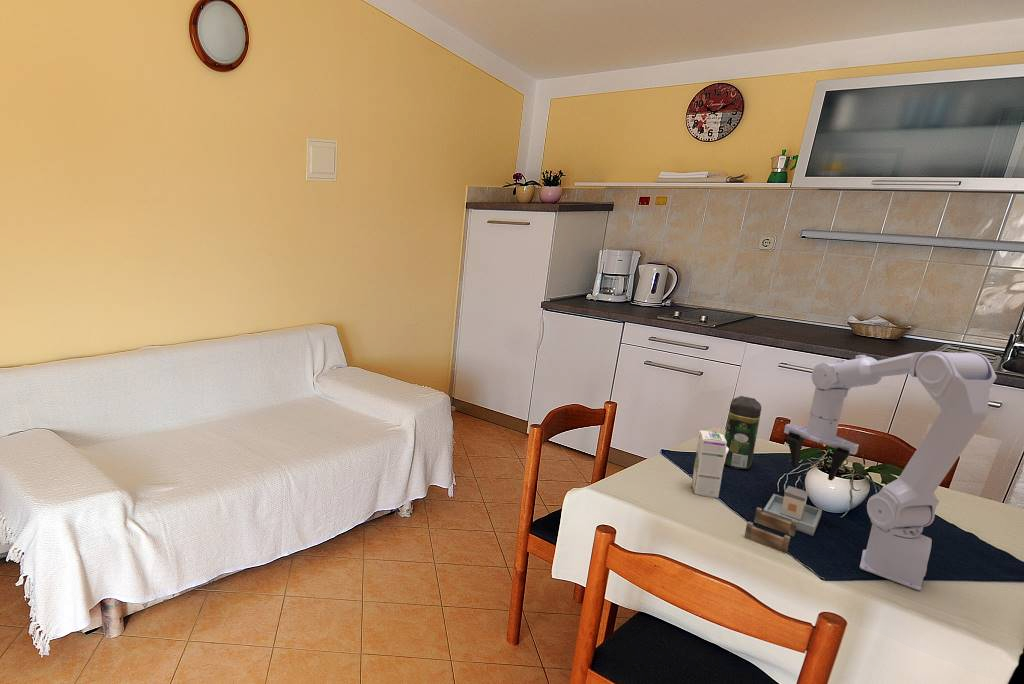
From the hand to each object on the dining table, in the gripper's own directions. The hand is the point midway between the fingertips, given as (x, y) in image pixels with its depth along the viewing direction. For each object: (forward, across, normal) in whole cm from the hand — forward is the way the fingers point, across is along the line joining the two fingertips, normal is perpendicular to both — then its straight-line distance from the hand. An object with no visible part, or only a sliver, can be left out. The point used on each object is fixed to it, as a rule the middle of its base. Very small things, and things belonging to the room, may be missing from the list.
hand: (812, 472), depth 121 cm
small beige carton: (+9, -1, -6) cm, 11 cm away
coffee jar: (+10, -22, +13) cm, 28 cm away
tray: (+10, -1, -6) cm, 11 cm away
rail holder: (+10, -1, -18) cm, 20 cm away
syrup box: (+10, -19, -11) cm, 24 cm away
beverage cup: (+10, -22, -3) cm, 24 cm away
